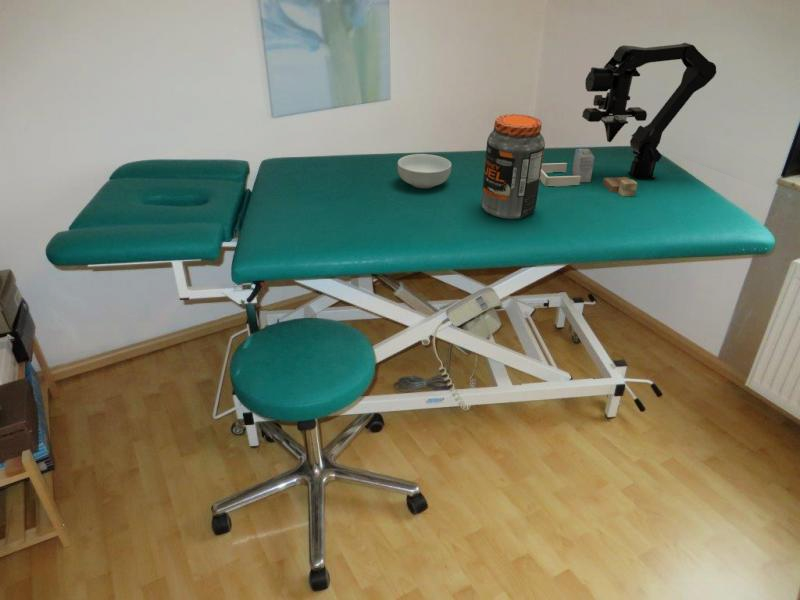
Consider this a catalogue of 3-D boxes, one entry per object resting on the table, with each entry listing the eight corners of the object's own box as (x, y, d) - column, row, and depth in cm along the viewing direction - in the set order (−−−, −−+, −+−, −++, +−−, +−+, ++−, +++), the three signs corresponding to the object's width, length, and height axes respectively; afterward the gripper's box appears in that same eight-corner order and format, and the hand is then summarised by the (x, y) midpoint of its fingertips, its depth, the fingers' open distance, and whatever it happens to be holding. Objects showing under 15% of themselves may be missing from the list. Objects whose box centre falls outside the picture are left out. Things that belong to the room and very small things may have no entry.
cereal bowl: (421, 198, 181) (422, 175, 177) (386, 182, 191) (386, 161, 188) (461, 185, 190) (462, 163, 187) (425, 170, 201) (426, 150, 197)
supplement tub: (470, 203, 178) (478, 115, 164) (516, 195, 184) (526, 109, 170) (498, 224, 166) (509, 131, 152) (546, 215, 171) (560, 124, 158)
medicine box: (590, 182, 193) (595, 156, 189) (576, 182, 194) (581, 156, 189) (584, 174, 200) (589, 148, 195) (571, 173, 200) (575, 148, 196)
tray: (564, 171, 202) (566, 162, 200) (579, 185, 191) (580, 176, 190) (533, 172, 200) (534, 163, 199) (545, 186, 190) (547, 177, 188)
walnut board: (625, 184, 194) (627, 177, 193) (635, 192, 188) (637, 185, 187) (602, 185, 193) (603, 178, 192) (611, 193, 187) (612, 186, 186)
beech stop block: (630, 192, 187) (633, 179, 185) (634, 195, 185) (637, 183, 182) (618, 192, 187) (620, 180, 185) (622, 196, 184) (625, 183, 182)
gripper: (636, 84, 191) (625, 133, 199) (580, 85, 188) (571, 134, 197) (653, 93, 181) (641, 144, 190) (594, 94, 179) (584, 145, 187)
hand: (609, 141), depth 191 cm, fingers closed
